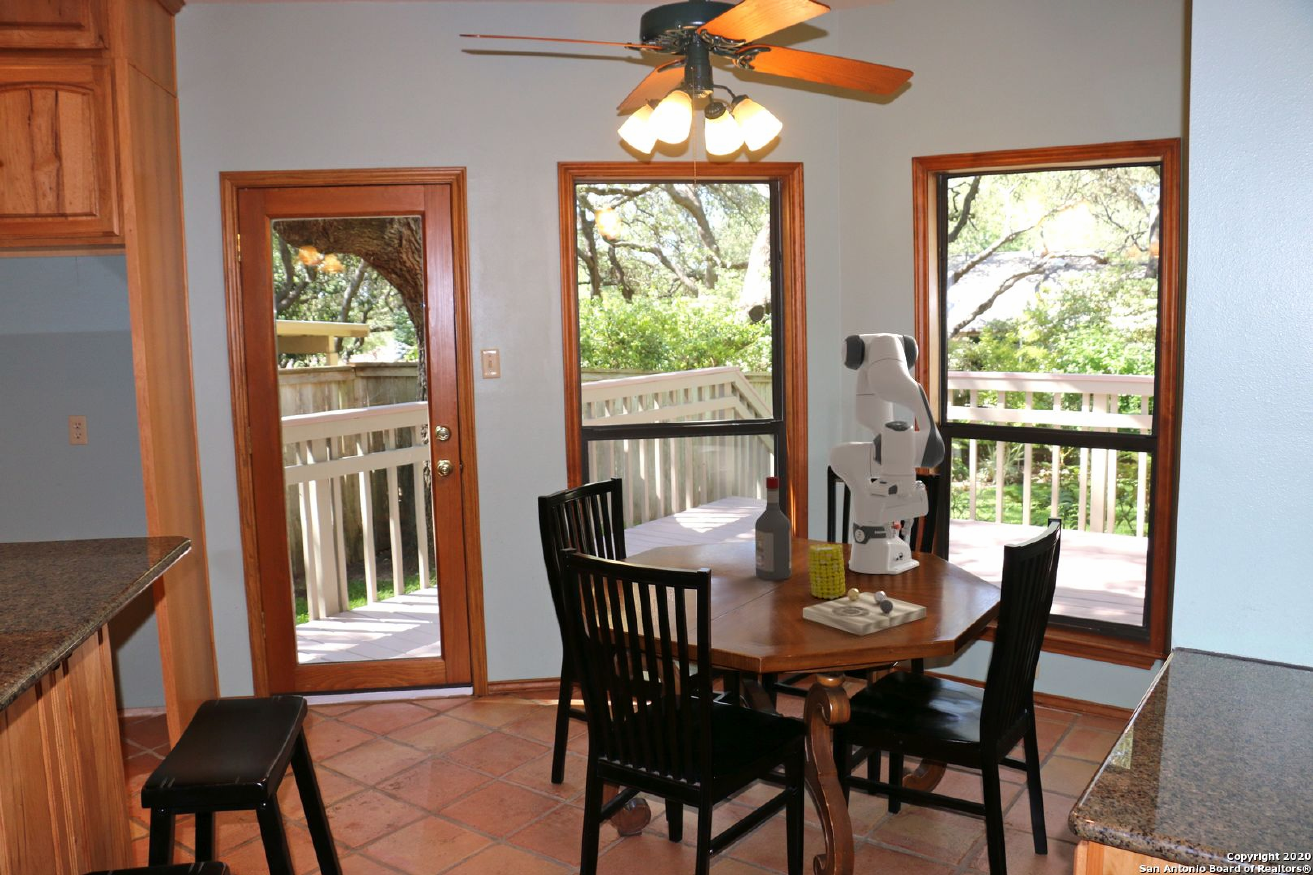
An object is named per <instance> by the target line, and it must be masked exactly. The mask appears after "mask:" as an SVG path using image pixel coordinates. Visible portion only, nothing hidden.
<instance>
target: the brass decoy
mask: <svg viewBox="0 0 1313 875" xmlns="http://www.w3.org/2000/svg"><path fill="white" fill-rule="evenodd" d="M846 594H847V596H846V597H848V598H849V599H850V600H852V601H855V600H857V599H858V598H859V596H860V591H859V590H858V589H857V588H849V590H848V591H847V593H846Z"/></svg>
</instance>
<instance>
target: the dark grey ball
mask: <svg viewBox="0 0 1313 875" xmlns="http://www.w3.org/2000/svg"><path fill="white" fill-rule="evenodd" d="M880 608H881V610H882V611H883V612H885V613H889V612H891V611H892V609H893V604H892V602H891V601H889V600H884V601H882V602H881V604H880Z"/></svg>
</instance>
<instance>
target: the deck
mask: <svg viewBox="0 0 1313 875" xmlns="http://www.w3.org/2000/svg"><path fill="white" fill-rule="evenodd" d="M859 593H860V592H859ZM874 595H875V593H872V592H869V591H865V592H861V593H860V596H859V598H858V599H857V600H855V601H852V600H850V599H849V598H848V596H844V597H842V598H836V599H832V600H830V601H825V602H822V603H818V604H815V605H814V604H813V605H810V606H806V607H803V608H802V617H803V618H802V619H805V620H809V621H813V622H815V623H819V624H822V625H826V626H829V627H832V628H834V629H835V628H836V629H839V630H841V631H845V632H849V633H851V634H854V635H858V636H864V635H869V634H873V633H876V632H879V631H882V630H886V629H890V628H894V627H896V626H899V625H903V624H907V623H910V622H914V621H917V620H920V619H924V618H927V607H925V606H923V605H919V604H915V603H910V602H907V601H903V600H900V599H895V598H892V597H890V596H889V597H888V596H886V597H887V599H886V600H889V601H891V602H892V604H893V609H892V611H891V612H889V613H885V612H883V611H882V610H881V608H880V604H879V603H877V602H876V601H875V600H874Z"/></svg>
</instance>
